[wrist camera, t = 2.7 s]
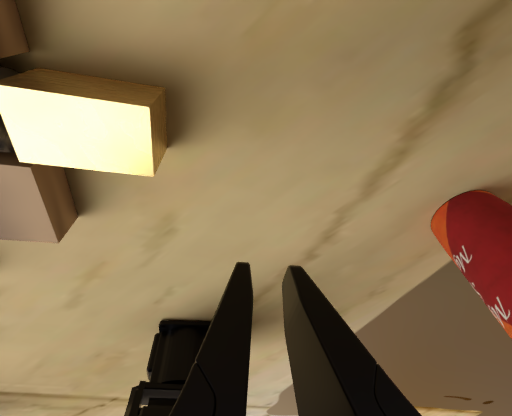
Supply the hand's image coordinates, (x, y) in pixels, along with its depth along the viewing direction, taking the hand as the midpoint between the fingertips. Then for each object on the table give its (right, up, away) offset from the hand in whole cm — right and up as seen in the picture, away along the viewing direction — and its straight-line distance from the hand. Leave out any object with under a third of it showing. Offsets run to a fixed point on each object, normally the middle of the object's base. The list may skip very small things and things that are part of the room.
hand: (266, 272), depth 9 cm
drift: (-10, +8, +8) cm, 15 cm away
